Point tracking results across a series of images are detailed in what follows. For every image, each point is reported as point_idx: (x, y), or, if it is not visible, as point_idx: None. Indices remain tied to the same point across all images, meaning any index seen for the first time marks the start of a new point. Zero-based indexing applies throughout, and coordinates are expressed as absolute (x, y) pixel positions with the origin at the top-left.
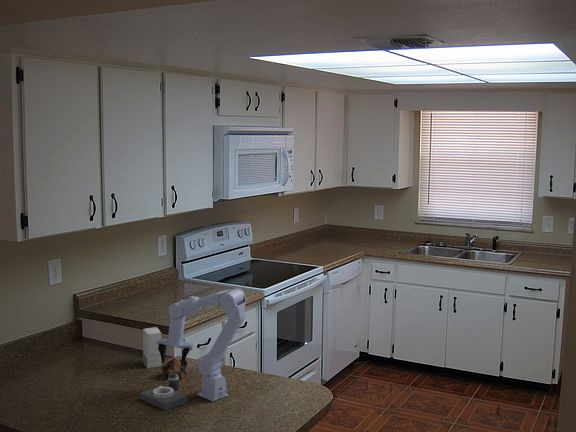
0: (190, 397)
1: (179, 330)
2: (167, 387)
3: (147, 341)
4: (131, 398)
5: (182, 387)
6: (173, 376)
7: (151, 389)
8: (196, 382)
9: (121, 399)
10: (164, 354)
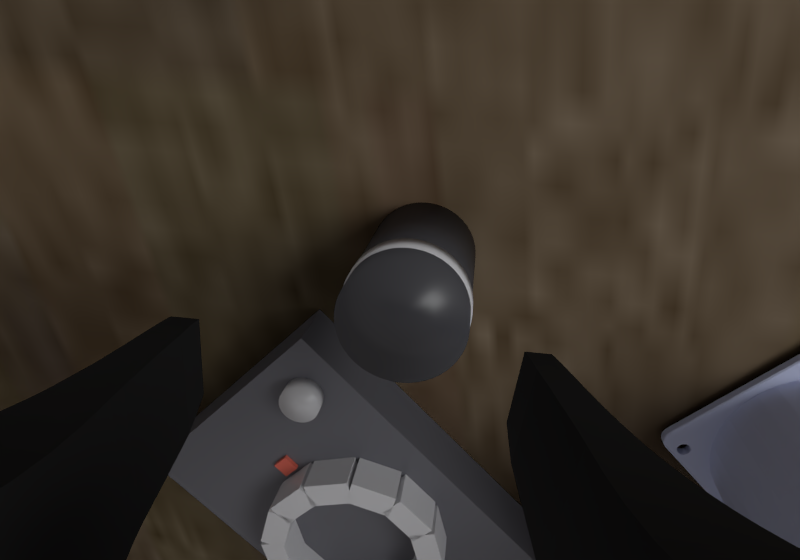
0: None
1: None
2: (376, 499)
3: None
4: None
5: (511, 222)
6: (408, 379)
7: (228, 416)
8: (684, 75)
9: None
10: (123, 470)
